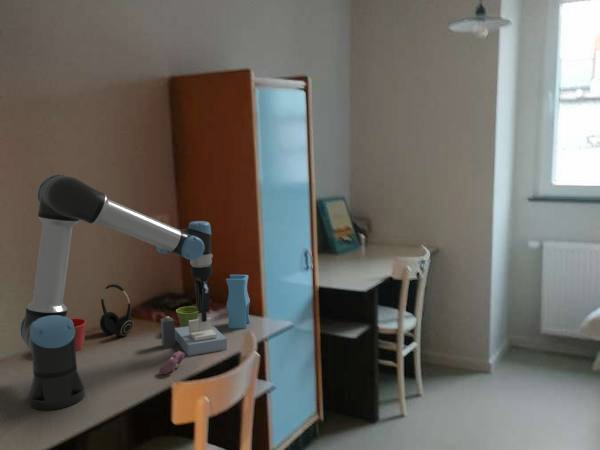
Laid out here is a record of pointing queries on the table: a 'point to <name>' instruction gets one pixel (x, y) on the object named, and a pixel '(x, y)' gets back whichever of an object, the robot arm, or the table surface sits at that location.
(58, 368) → the robot arm
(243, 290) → the vase
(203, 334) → the cream stepped block
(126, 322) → the headphones
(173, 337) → the plug
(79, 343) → the flower pot
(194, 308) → the plant pot
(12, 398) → the table surface
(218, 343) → the socket
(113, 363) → the table surface
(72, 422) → the table surface
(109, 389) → the table surface
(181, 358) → the pink oblong lump
